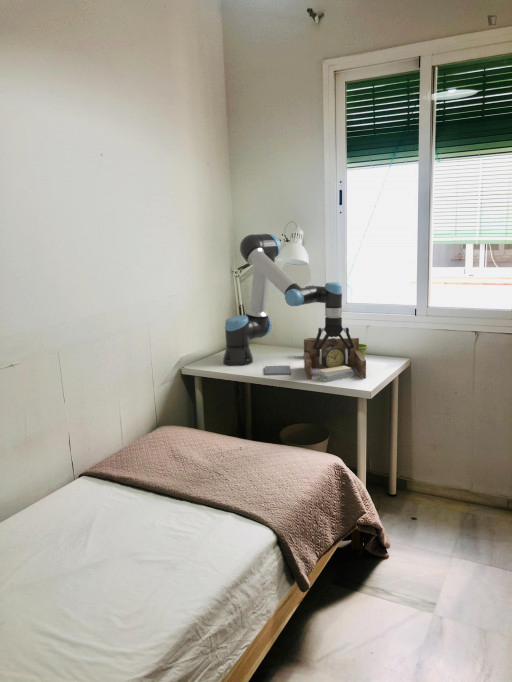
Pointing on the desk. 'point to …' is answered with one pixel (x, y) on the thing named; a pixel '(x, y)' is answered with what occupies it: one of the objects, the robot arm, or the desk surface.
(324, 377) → the book stack
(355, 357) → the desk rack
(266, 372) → the mat
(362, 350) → the plant pot
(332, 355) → the alarm clock
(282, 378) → the desk surface
